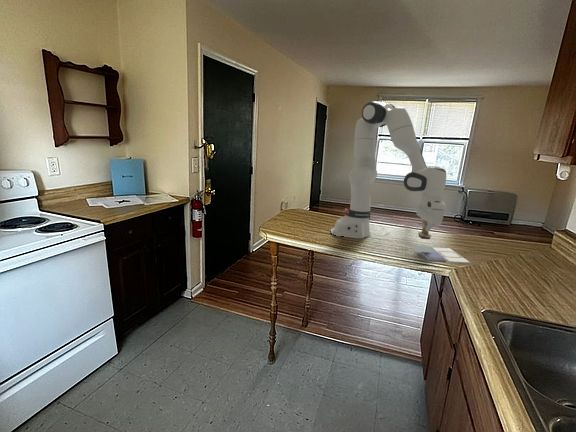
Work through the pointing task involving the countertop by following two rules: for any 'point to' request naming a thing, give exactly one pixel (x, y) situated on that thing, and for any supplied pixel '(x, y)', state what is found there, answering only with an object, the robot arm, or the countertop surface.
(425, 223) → the stamp
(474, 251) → the countertop surface
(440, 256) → the stamping board
